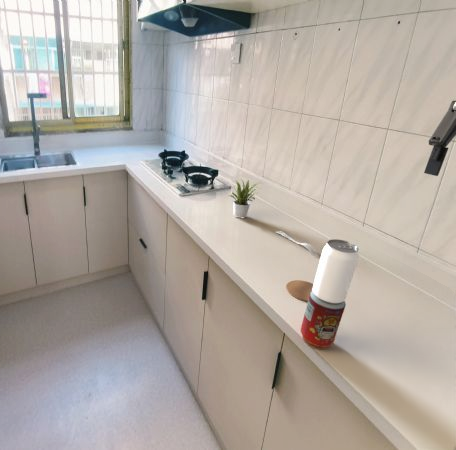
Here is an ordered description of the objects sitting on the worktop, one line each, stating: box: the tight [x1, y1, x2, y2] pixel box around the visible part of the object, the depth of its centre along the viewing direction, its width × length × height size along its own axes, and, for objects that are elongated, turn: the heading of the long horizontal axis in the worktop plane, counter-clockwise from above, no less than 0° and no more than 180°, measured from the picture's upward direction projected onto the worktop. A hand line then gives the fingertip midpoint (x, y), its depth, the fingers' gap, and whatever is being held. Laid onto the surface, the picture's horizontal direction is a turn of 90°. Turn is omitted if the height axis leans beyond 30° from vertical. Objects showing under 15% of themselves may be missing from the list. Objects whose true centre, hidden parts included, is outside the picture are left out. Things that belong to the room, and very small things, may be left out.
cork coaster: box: [285, 279, 314, 303], centre depth 95 cm, size 10×10×1 cm
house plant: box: [227, 178, 262, 218], centre depth 141 cm, size 14×14×16 cm
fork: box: [275, 230, 320, 258], centre depth 122 cm, size 3×21×3 cm, turn 20°
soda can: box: [300, 291, 347, 350], centre depth 74 cm, size 7×7×12 cm
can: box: [312, 238, 359, 304], centre depth 70 cm, size 6×6×12 cm
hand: (447, 172), depth 83 cm, fingers open, 13 cm apart
